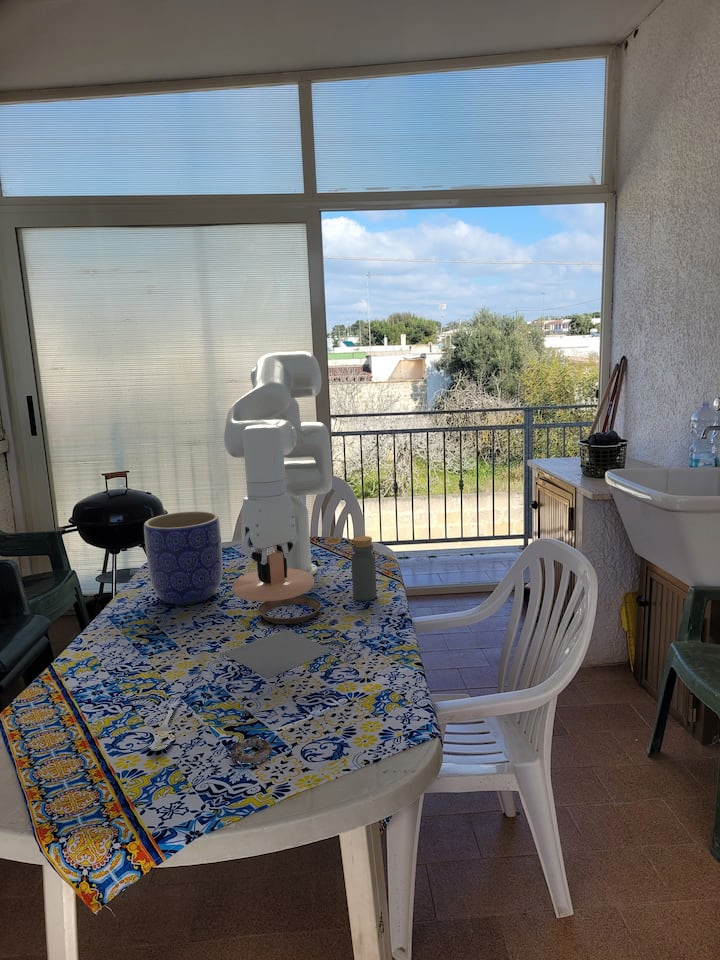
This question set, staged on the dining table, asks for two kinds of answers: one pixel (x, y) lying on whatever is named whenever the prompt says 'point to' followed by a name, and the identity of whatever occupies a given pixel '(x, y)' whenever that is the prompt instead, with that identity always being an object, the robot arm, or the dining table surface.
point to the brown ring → (295, 600)
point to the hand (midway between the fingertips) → (273, 578)
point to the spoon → (164, 728)
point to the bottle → (363, 569)
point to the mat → (277, 653)
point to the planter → (184, 556)
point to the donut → (259, 756)
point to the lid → (274, 582)
